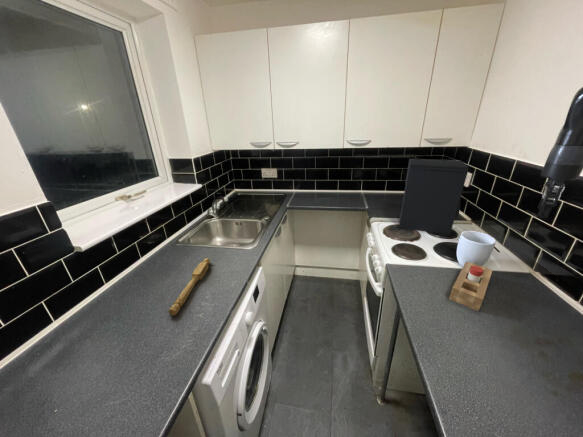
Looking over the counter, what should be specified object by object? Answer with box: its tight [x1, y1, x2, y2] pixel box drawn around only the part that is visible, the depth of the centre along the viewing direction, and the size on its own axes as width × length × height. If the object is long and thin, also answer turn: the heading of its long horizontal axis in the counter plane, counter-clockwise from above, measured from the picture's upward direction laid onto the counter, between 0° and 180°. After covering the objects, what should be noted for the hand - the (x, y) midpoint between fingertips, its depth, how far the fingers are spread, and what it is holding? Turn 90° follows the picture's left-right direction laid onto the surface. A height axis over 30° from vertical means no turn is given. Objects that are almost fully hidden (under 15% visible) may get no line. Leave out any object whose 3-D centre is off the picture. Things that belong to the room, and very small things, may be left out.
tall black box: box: [398, 157, 469, 236], centre depth 122 cm, size 28×20×35 cm
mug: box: [456, 230, 497, 267], centre depth 93 cm, size 15×11×13 cm
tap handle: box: [167, 258, 211, 316], centre depth 89 cm, size 3×3×30 cm
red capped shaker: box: [467, 266, 483, 283], centre depth 80 cm, size 3×3×9 cm
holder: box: [448, 261, 493, 312], centre depth 81 cm, size 8×20×5 cm, turn 135°
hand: (542, 213), depth 72 cm, fingers open, 8 cm apart
